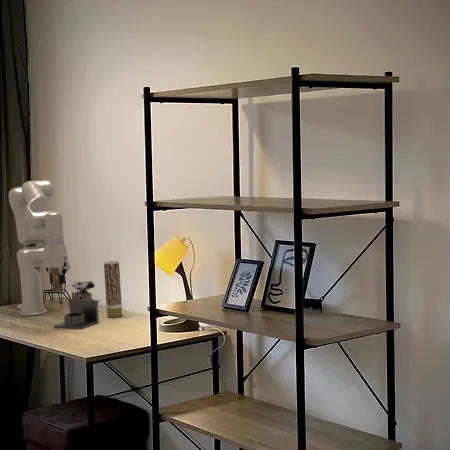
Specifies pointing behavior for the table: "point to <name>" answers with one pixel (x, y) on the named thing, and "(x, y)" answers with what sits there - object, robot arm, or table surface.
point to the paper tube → (113, 289)
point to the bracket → (80, 315)
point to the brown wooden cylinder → (56, 280)
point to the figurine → (83, 290)
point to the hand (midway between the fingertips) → (57, 283)
